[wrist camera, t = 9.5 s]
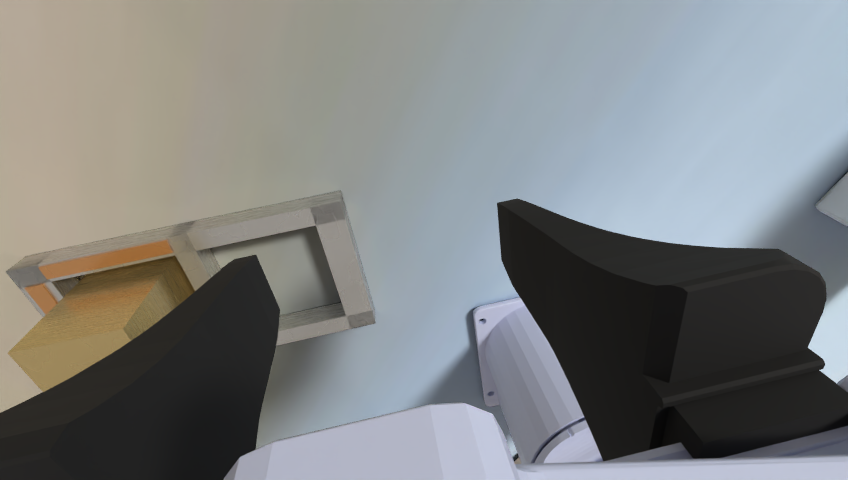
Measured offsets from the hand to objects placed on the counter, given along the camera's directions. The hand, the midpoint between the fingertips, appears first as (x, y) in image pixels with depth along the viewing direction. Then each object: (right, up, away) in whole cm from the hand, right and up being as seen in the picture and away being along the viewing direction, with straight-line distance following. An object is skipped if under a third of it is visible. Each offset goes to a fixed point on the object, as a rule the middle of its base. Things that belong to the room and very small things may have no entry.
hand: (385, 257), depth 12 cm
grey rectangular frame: (-10, -2, +11) cm, 15 cm away
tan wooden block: (-14, -3, +11) cm, 18 cm away
